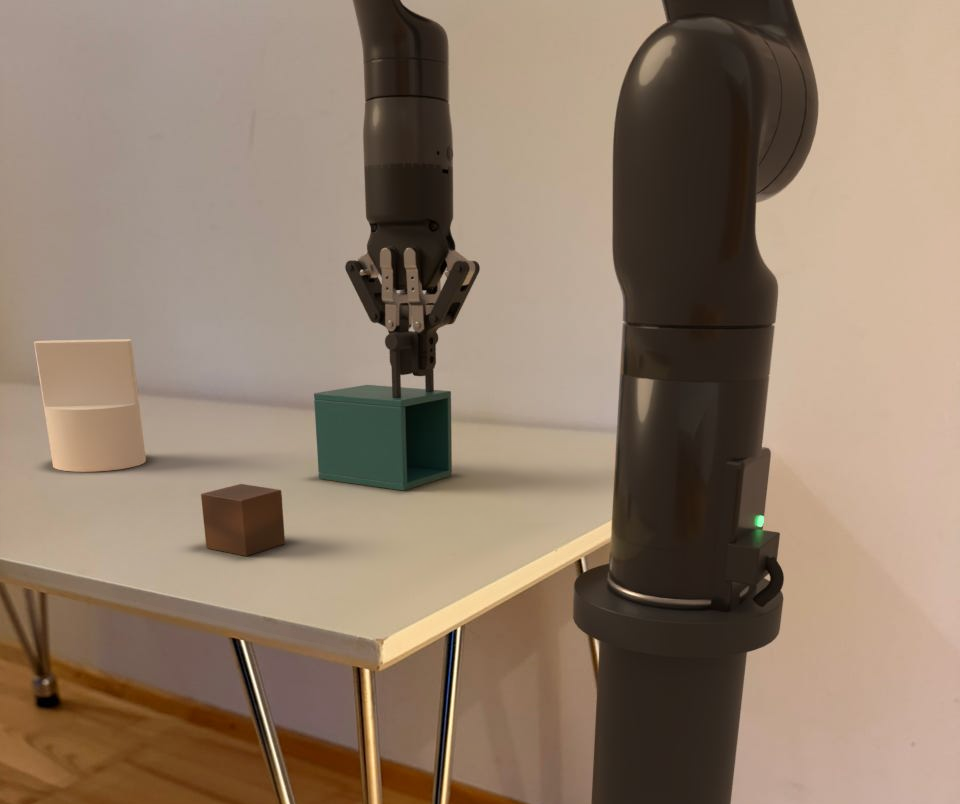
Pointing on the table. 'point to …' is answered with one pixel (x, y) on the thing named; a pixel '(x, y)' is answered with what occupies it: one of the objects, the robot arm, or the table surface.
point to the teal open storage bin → (385, 430)
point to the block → (243, 519)
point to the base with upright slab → (91, 404)
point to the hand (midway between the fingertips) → (413, 374)
